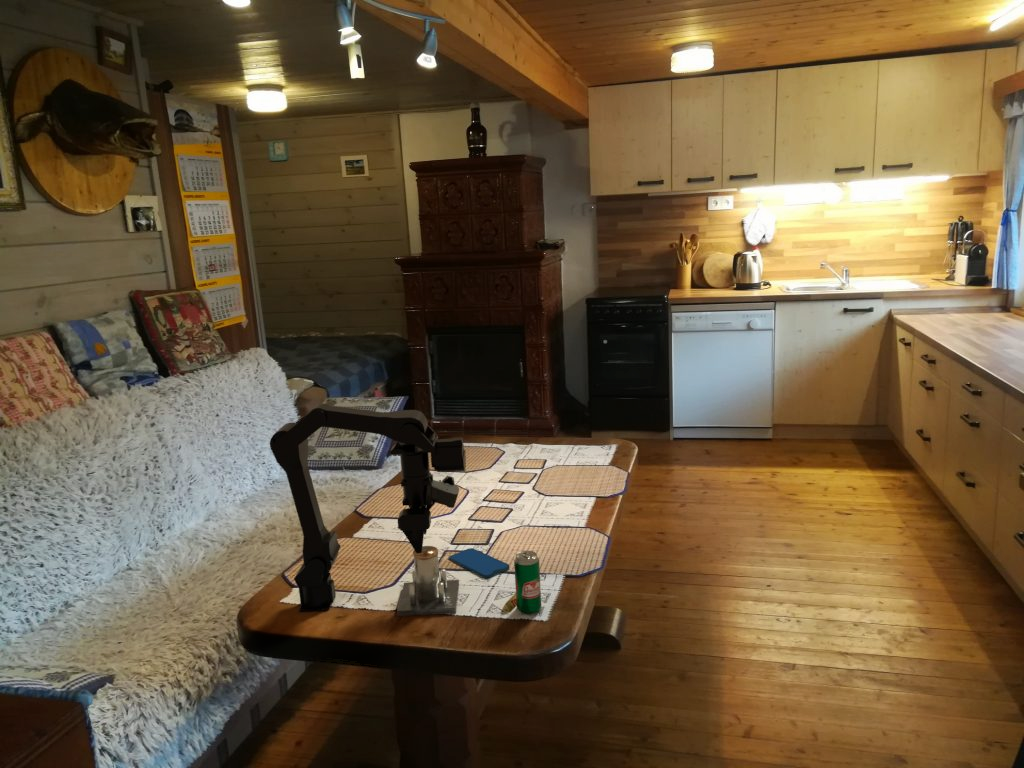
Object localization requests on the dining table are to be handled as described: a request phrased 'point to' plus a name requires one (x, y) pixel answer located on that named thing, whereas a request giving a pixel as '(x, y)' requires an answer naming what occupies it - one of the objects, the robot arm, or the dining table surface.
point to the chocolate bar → (510, 604)
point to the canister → (427, 573)
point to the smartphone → (479, 563)
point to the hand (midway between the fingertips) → (421, 543)
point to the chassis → (438, 606)
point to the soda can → (527, 582)
